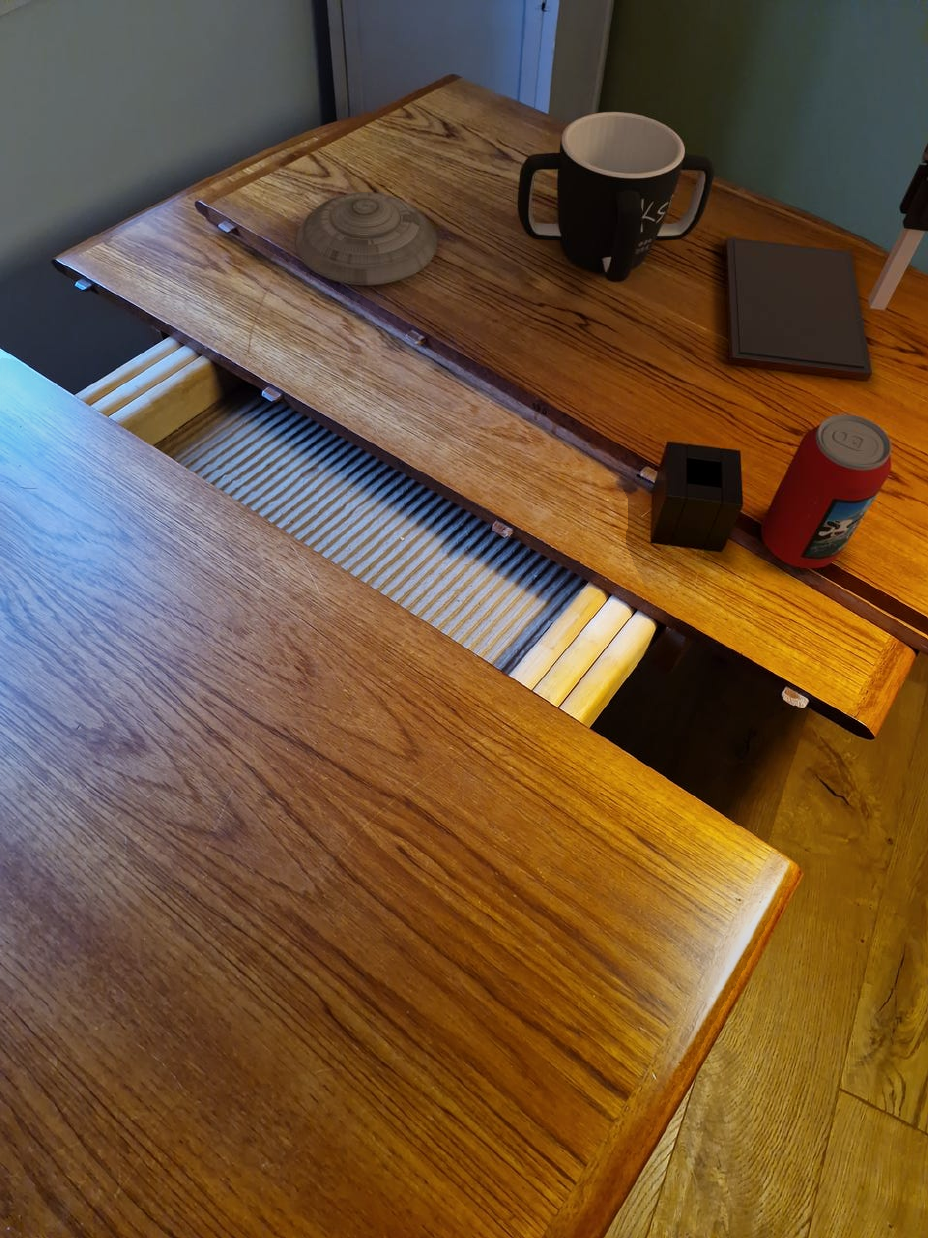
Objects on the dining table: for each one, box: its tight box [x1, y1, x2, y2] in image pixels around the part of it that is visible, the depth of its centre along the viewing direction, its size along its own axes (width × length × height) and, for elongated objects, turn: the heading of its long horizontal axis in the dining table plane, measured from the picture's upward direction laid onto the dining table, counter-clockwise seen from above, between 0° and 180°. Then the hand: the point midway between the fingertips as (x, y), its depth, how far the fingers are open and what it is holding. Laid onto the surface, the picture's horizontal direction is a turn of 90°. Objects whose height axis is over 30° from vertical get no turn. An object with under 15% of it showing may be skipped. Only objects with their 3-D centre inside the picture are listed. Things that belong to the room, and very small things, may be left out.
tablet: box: [723, 236, 873, 382], centre depth 92 cm, size 14×20×1 cm
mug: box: [517, 111, 715, 283], centre depth 92 cm, size 16×16×12 cm
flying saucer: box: [294, 191, 439, 286], centre depth 93 cm, size 15×15×6 cm
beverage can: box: [760, 413, 892, 569], centre depth 70 cm, size 7×7×12 cm
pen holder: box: [649, 440, 744, 554], centre depth 74 cm, size 6×6×6 cm
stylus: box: [867, 178, 928, 311], centre depth 77 cm, size 1×1×14 cm
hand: (919, 219), depth 75 cm, fingers closed on stylus, 1 cm apart
